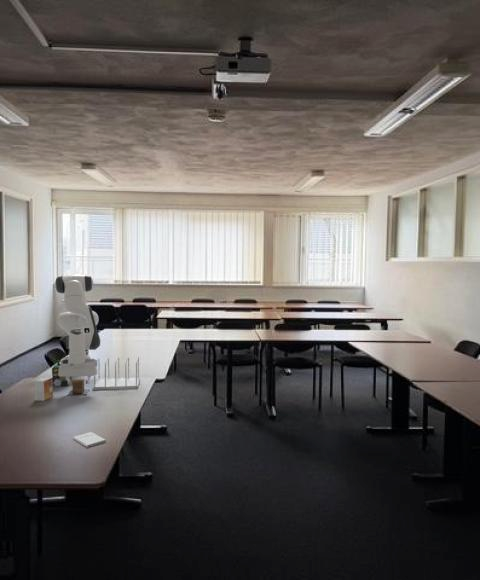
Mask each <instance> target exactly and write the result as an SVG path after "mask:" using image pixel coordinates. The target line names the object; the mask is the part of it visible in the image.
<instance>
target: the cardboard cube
mask: <svg viewBox="0 0 480 580" xmlns="http://www.w3.org/2000/svg"><path fill="white" fill-rule="evenodd" d="M71 385H72V386H71V387H72V389H71V390H73V393H83V391H84V389H85V378H73V379H72V382H71Z"/></svg>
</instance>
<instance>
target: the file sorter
mask: <svg viewBox="0 0 480 580" xmlns="http://www.w3.org/2000/svg"><path fill="white" fill-rule="evenodd" d="M109 359H110V358H109V357H107V358H106V360H105V362H104V378H100V377H101V376H100V374H101V373H100V370H101V369H100V366H101V364H100V358H99V357H98V358H97V359H96V360H97V362H98V378H97V379H96V375H95V376H93V382H94V383H93V387H92V391H99V390H103V391H104V390H127V389H128V390H130V389H133V390H134V389H135V390H137V389H139V386H140V382H141V377H140V376H139V375H140V373H139V372H140V368H139V366H140V363H139V361H140V359H139V356H137V358H136V360H135V361H136V362H135V377H130V358H129V356H128V357H127V359H125V362H124V366H125V367H124V368H125V369H124V371H125V374H124V376H125V377H121V378H120V357H117V358H116V360H115V361H114V362H115V364H114V378H113V377H112V378H110V360H109ZM117 363H118V364H117ZM107 367H108V368H107ZM117 367H118V368H117ZM117 369H118V370H117ZM107 370H108V371H107ZM107 372H108V373H107ZM117 372H118V375H117ZM107 374H108V375H107ZM127 374H128V375H127ZM107 376H108V377H107ZM117 376H118V377H117Z"/></svg>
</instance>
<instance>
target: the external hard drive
mask: <svg viewBox="0 0 480 580" xmlns="http://www.w3.org/2000/svg"><path fill="white" fill-rule="evenodd" d="M72 440H74V441H76V442H78V443H79V444H81V445H82V446H84V447H85V446H86V447H85V448H87V447H88V448H90V447H89V446H91V447H94V446H98V445H101V444H104V443H106V442H107V440H106V439H105V438H103V437H101V436H100V435H98V434H96V433H94V432H92V431H89V432H86V433H82V434H78V435H76V436H75V435H74V436H73V439H72ZM97 444H98V445H97ZM93 445H94V446H93Z"/></svg>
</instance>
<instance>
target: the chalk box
mask: <svg viewBox="0 0 480 580" xmlns="http://www.w3.org/2000/svg"><path fill="white" fill-rule="evenodd" d="M60 361H61V359H59V360H58V359H57V360H56V363H55V364H54V365H53V366H52V367H51V374H52V375H51V376H52V377H51V378H52V380H53V388H54V387H69V386H70V385H71V384H68V381H67V380H66V377H60V376H59V374H58V372H59V366H60V365H61V363H60ZM68 379H69V380H70V381H71V383H72V381H73V376H71V377H69V378H68Z"/></svg>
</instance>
